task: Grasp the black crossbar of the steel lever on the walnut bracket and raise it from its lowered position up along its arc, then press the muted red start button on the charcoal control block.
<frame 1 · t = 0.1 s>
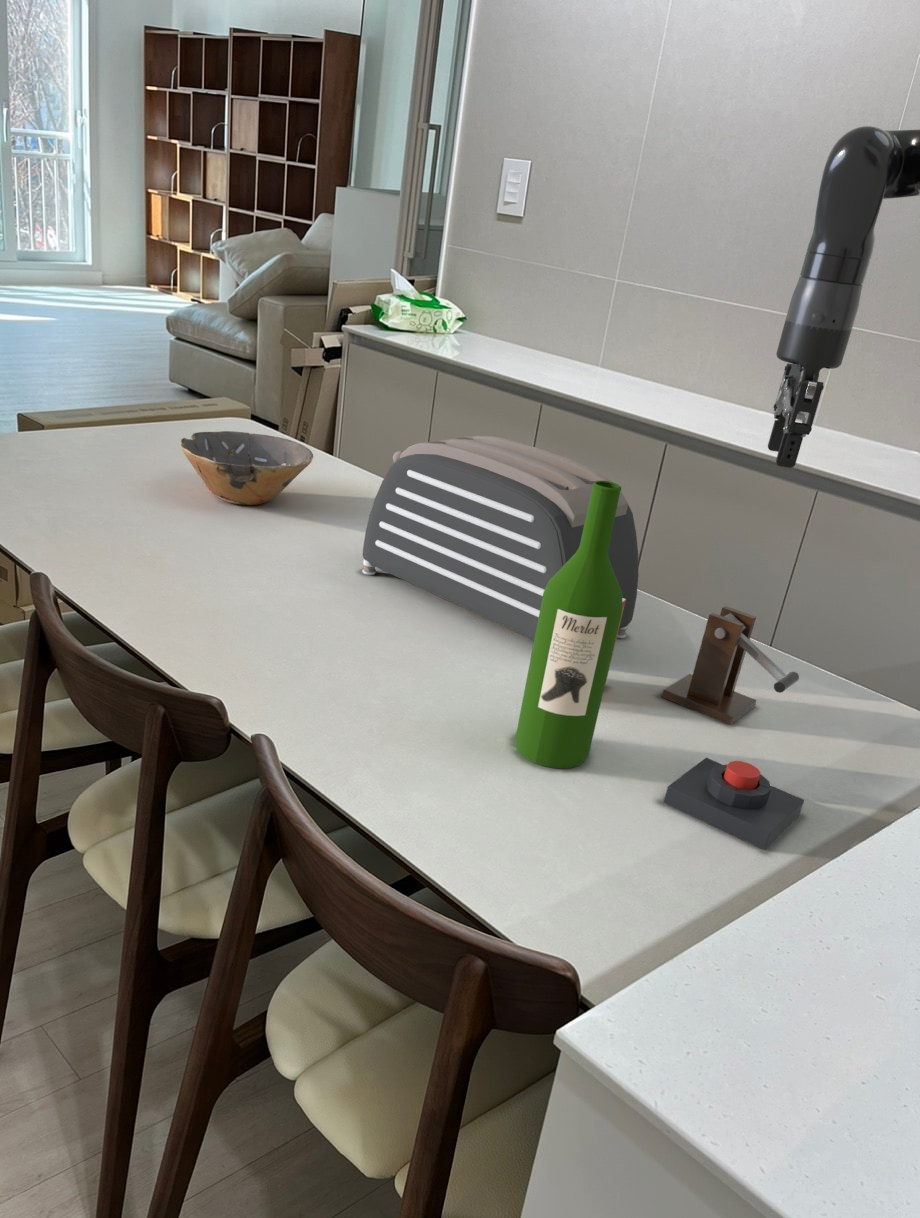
hand: (779, 458, 132), 33 cm above the table, tool pointing down, fingers open, 8 cm apart
bracket: (708, 702, 144), on the table
button: (741, 775, 117), point 4 cm above the table, slide at 0.1 cm
bowl: (244, 499, 202), on the table
lever: (755, 652, 137), point 9 cm above the table, hinge at -25.0°
control block: (731, 809, 119), on the table
small box: (574, 690, 143), on the table
toaster: (481, 600, 168), on the table
wine bottle: (550, 751, 127), on the table
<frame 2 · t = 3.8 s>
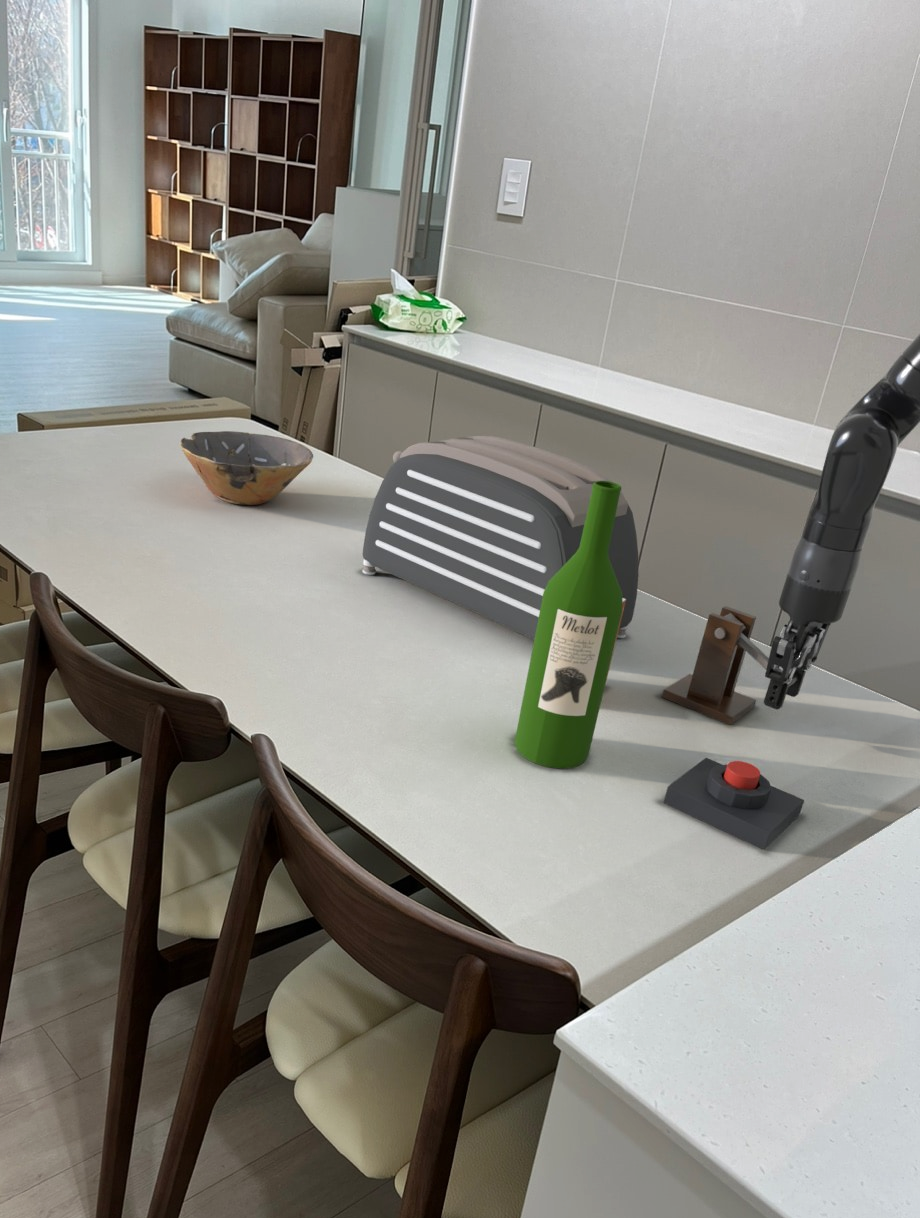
hand: (780, 699, 137), 4 cm above the table, tool pointing down, fingers closed on lever, 5 cm apart
lever: (755, 653, 137), point 9 cm above the table, hinge at -25.1°, touching gripper
everything else where it was.
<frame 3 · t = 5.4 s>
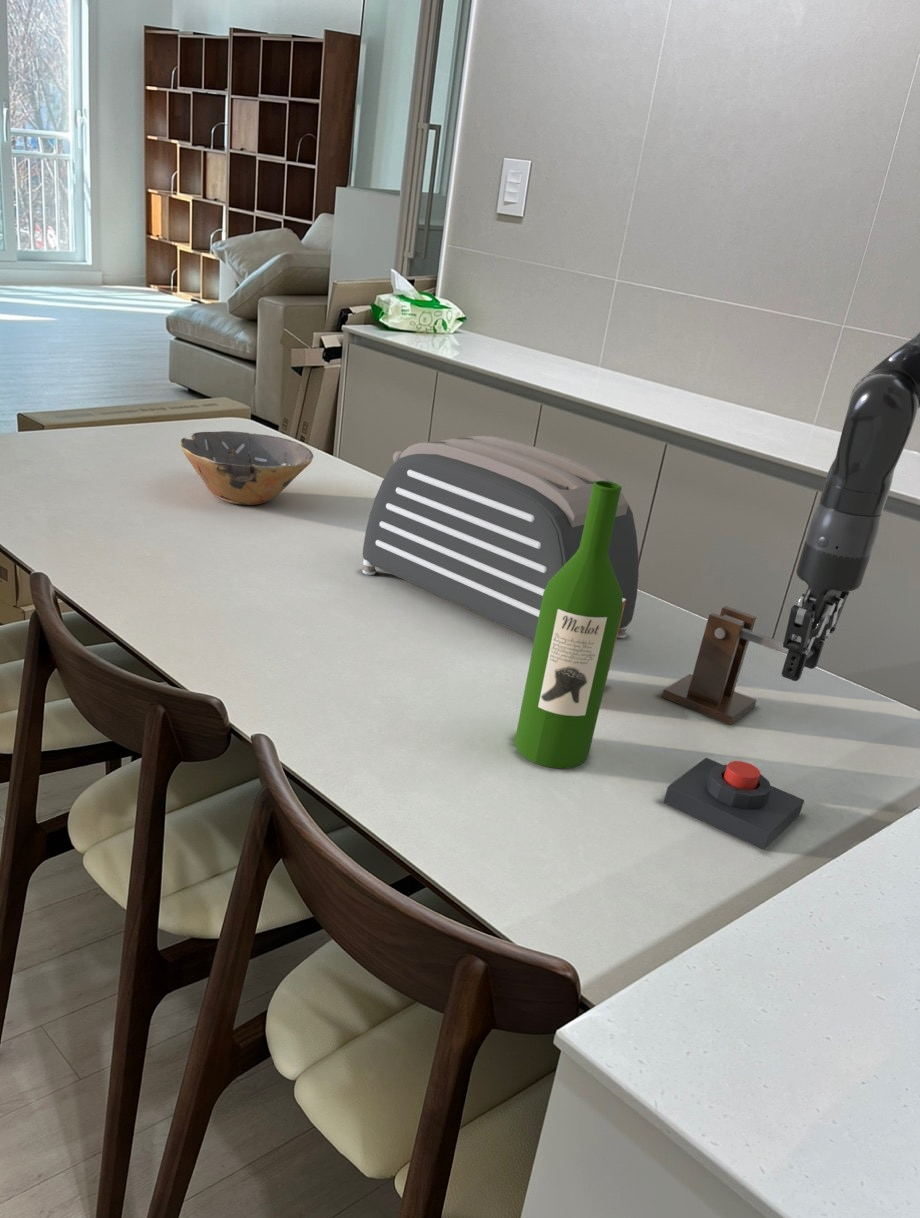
hand: (798, 671, 134), 9 cm above the table, tool pointing down, fingers closed on lever, 5 cm apart
lever: (763, 640, 136), point 11 cm above the table, hinge at -0.1°, touching gripper
everything else where it was.
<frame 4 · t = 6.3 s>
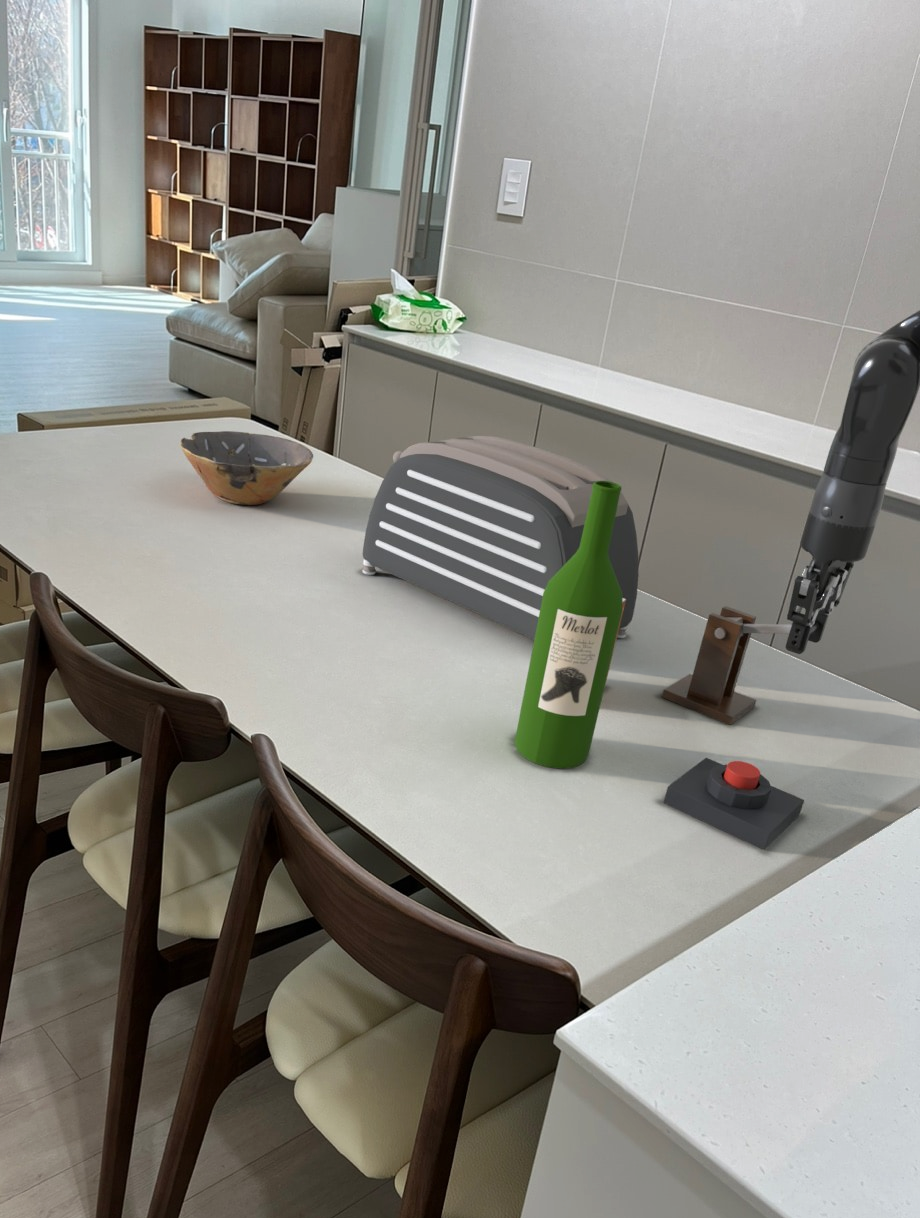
hand: (802, 645, 133), 12 cm above the table, tool pointing down, fingers closed on lever, 5 cm apart
lever: (764, 628, 135), point 13 cm above the table, hinge at 19.1°, touching gripper
everything else where it was.
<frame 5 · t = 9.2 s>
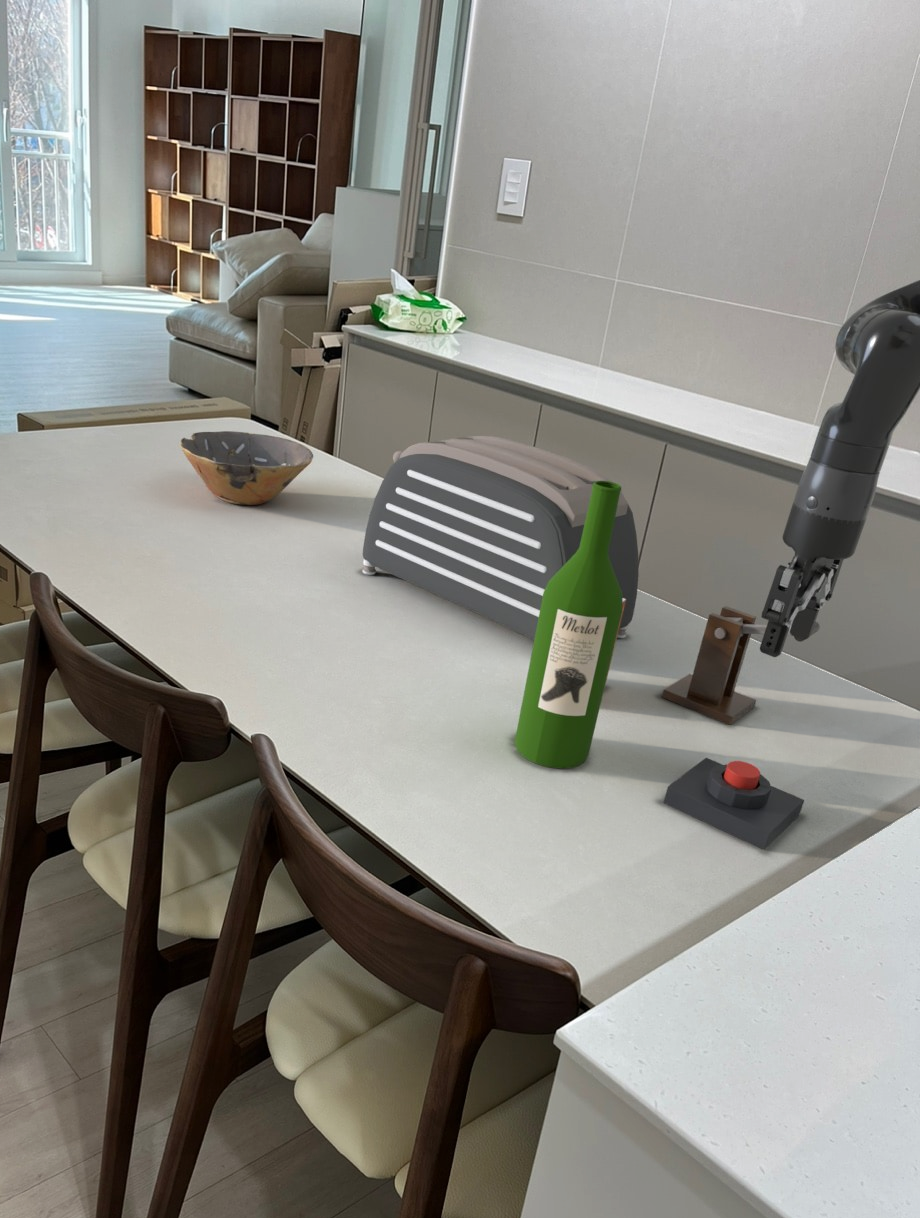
hand: (784, 645, 120), 17 cm above the table, tool pointing down, fingers open, 8 cm apart
lever: (764, 629, 136), point 12 cm above the table, hinge at 17.8°
everything else where it was.
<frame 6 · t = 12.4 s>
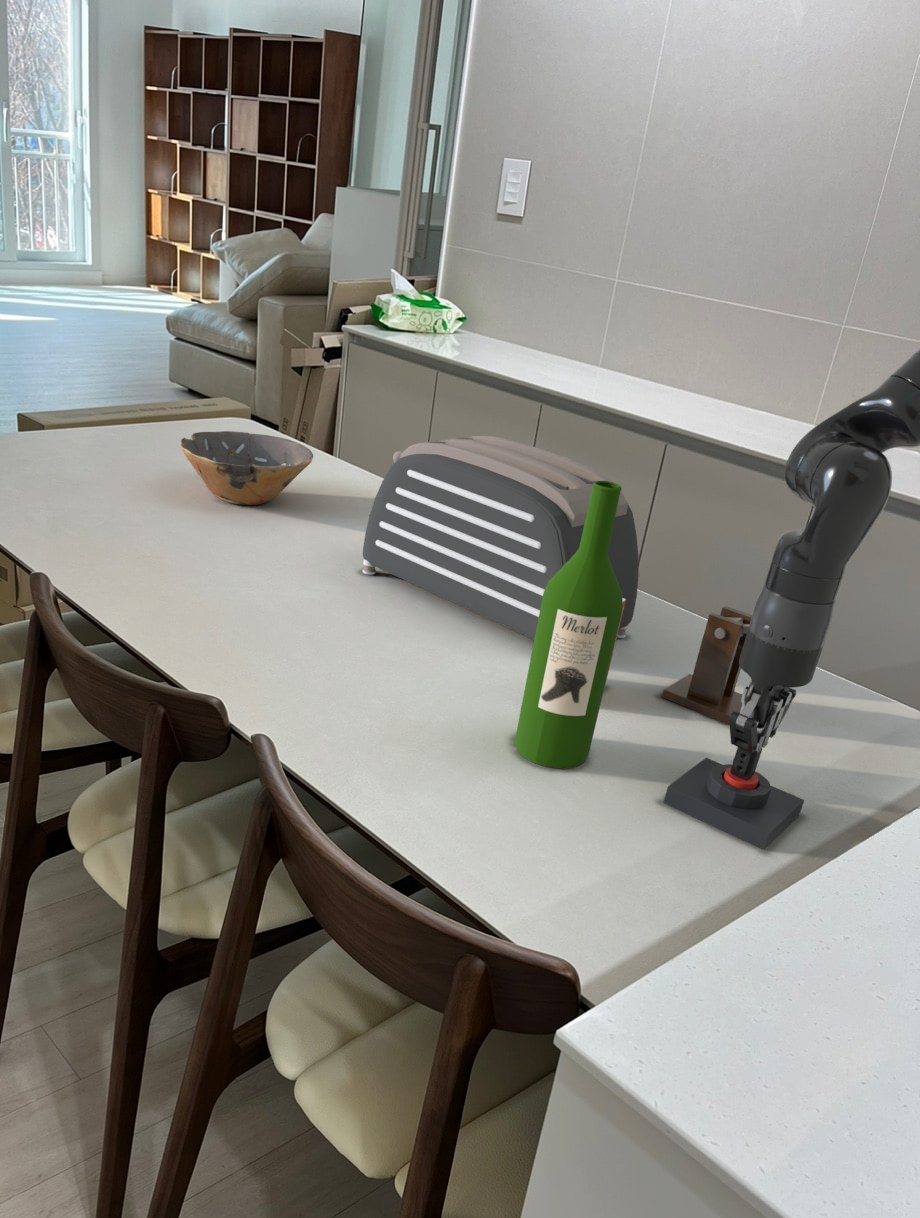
hand: (741, 775, 117), 5 cm above the table, tool pointing down, fingers closed
button: (739, 781, 118), point 4 cm above the table, slide at -0.7 cm, touching gripper
everything else where it was.
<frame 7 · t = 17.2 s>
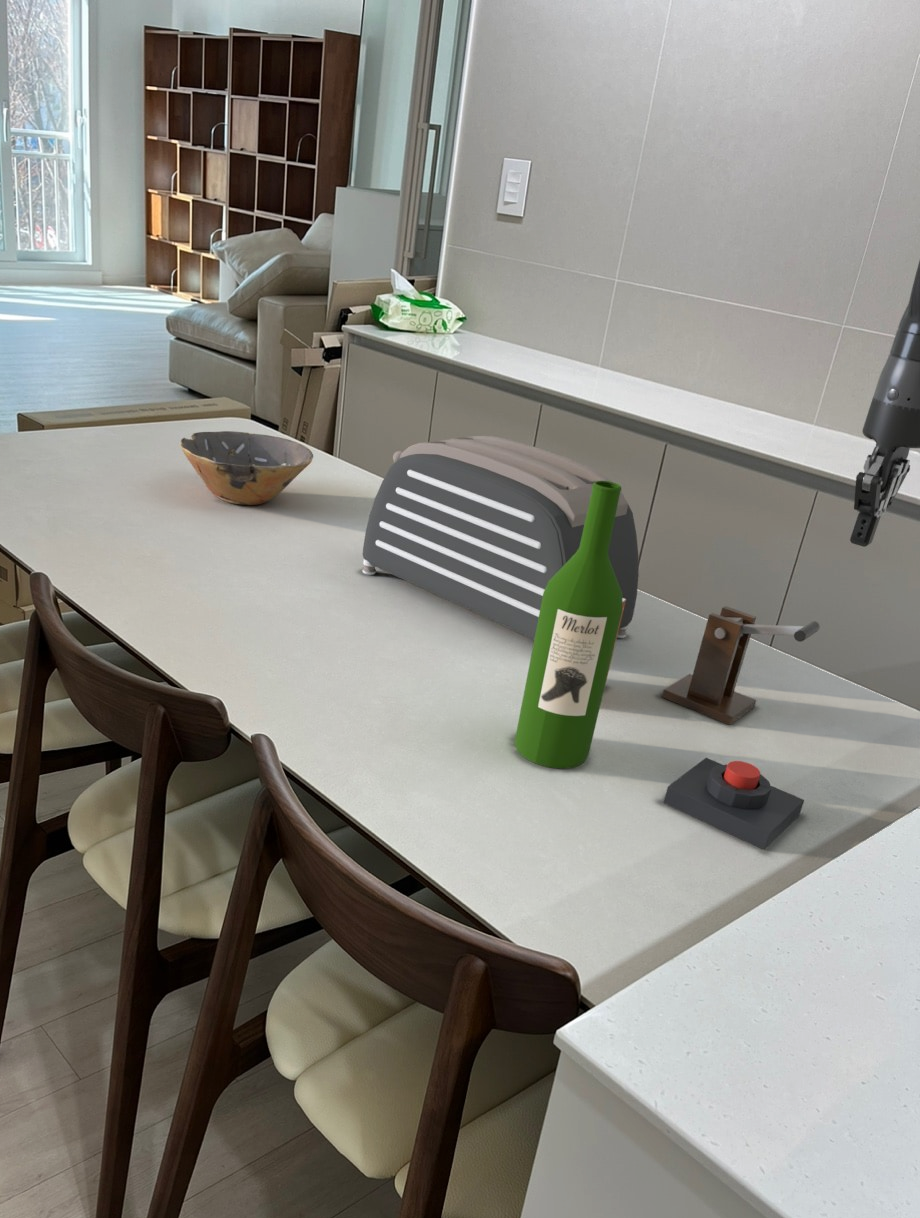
hand: (860, 543, 130), 25 cm above the table, tool pointing down, fingers closed
button: (741, 775, 117), point 4 cm above the table, slide at 0.1 cm
everything else where it was.
at the end: lever at +18° (first picture: -25°); button pushed in 1.1 cm at the most during the clip, back to where it started at the end; button slide at 0.1 cm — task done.
